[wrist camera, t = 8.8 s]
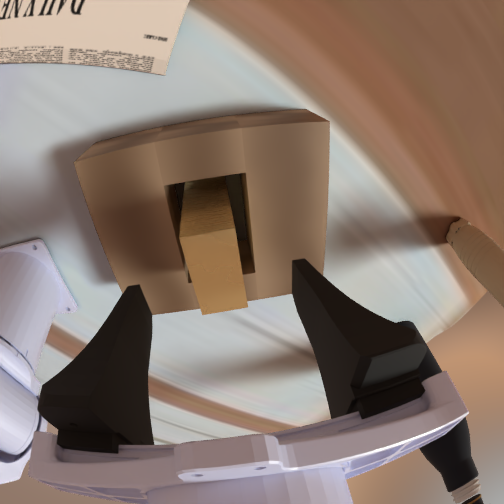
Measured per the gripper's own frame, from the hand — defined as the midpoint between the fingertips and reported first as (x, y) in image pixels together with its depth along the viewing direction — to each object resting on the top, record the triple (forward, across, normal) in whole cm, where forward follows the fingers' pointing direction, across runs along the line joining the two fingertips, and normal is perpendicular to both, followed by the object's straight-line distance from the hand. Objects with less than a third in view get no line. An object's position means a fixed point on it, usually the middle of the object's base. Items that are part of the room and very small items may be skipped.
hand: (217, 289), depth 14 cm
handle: (+9, -24, +6) cm, 26 cm away
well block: (+9, 0, 0) cm, 9 cm away
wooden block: (+9, 0, 0) cm, 9 cm away
